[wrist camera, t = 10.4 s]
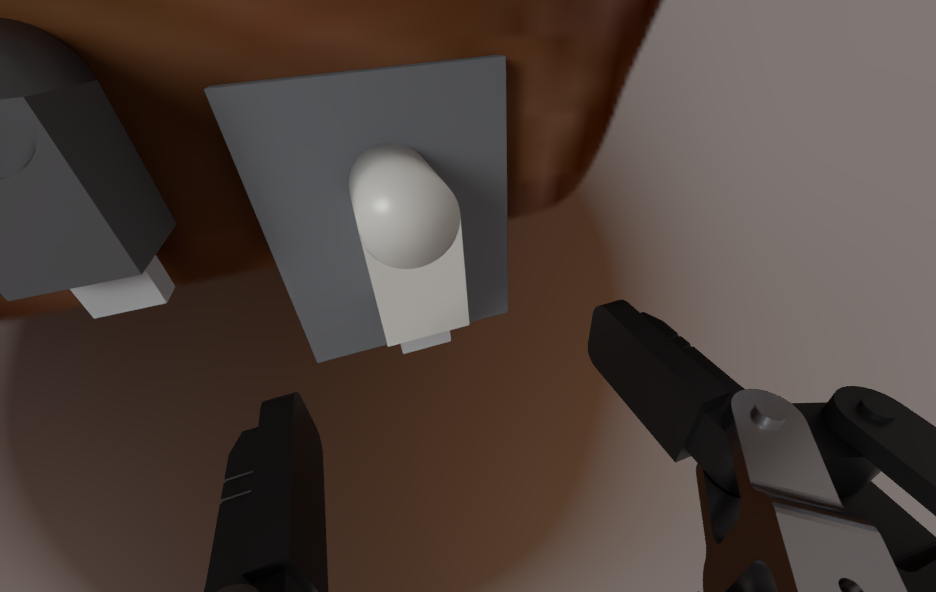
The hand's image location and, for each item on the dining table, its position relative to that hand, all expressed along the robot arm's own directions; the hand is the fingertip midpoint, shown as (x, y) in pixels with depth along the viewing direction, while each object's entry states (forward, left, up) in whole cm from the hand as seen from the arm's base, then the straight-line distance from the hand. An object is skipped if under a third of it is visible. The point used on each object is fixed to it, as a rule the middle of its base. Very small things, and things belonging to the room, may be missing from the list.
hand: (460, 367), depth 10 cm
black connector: (-4, -10, -11) cm, 15 cm away
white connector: (+1, 0, -10) cm, 10 cm away
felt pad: (0, 0, -11) cm, 11 cm away
